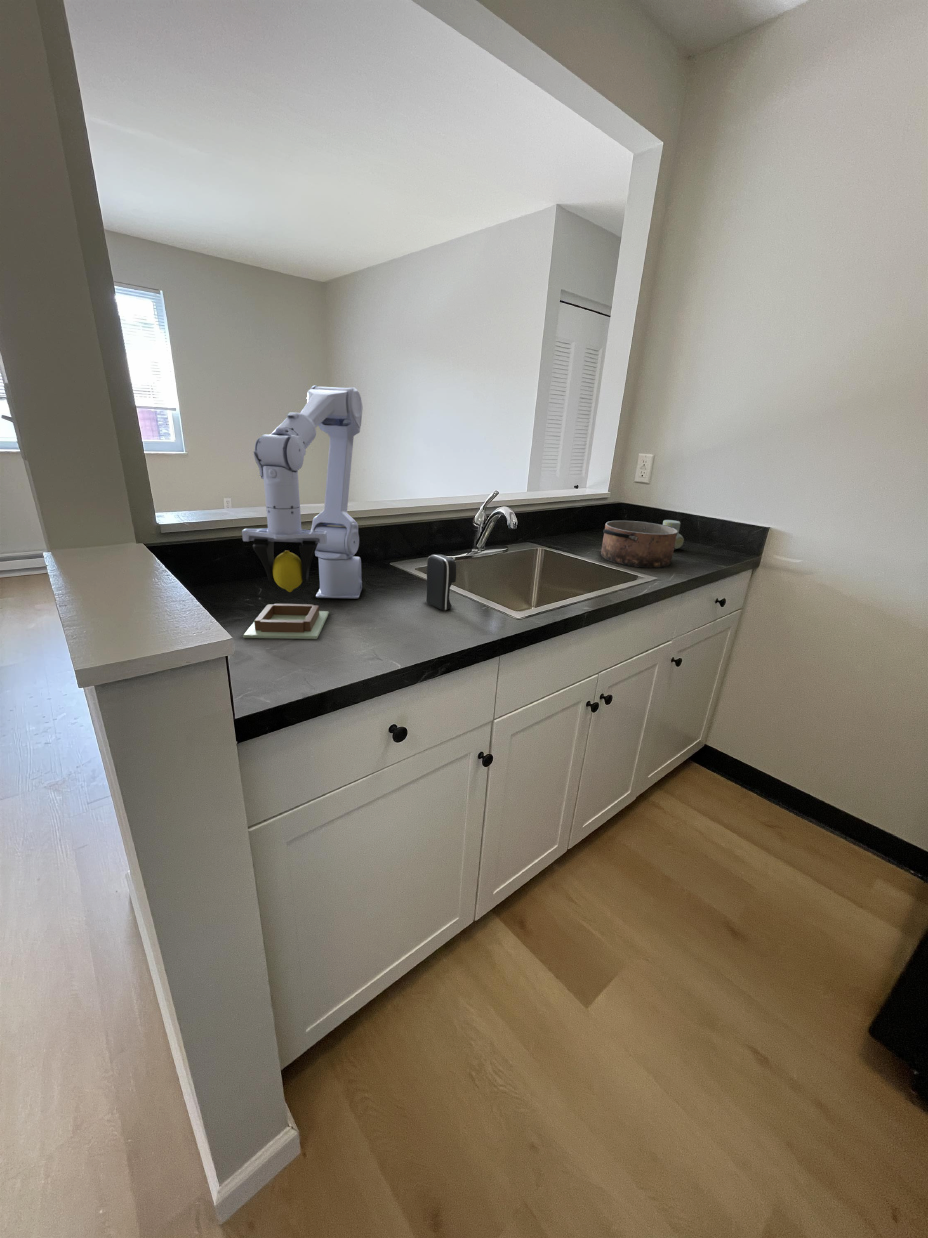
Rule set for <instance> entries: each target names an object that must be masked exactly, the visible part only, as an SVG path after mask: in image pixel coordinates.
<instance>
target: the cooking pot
mask: <svg viewBox="0 0 928 1238" xmlns="http://www.w3.org/2000/svg"><path fill="white" fill-rule="evenodd" d="M602 532H603V538H602V545H601V550H600V555H601V557H602V558H603V559H605V560H606V561H609V562H612V563H614V564H618V565H622V566H628V567H634V568H641V569H642V568H644V569H660V568H661V569H662V568H665V567H668V566H669V565H671V564H672V561H673V556H674V551H675V550H674V547H675V542H676V537H677V532H678V531H677V530H676V528H675V527H671V526H666V525H663V524H659V523H653V522H647V521H638V520H637V521H635V520H611V521H607V522H606V523H605V525H604V529H603V531H602Z"/></svg>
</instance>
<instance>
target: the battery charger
mask: <svg viewBox="0 0 928 1238" xmlns="http://www.w3.org/2000/svg"><path fill="white" fill-rule="evenodd" d="M426 561H427V562H426V598H425V599H426V600H425V601H426V603H427V604H429V605H430V606H433V607H434V608H436V609H438V610H441V611H447V610H451V609H452V607H453V604H451V601H450V593H451V592H450V589H451V587H452V584H453V583H457V582H456V581H457V563H456V561H455V560H454V559H453V558H451V557H450V556H447V555H444V554H431V555H429V556H428V557H427V560H426Z"/></svg>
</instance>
